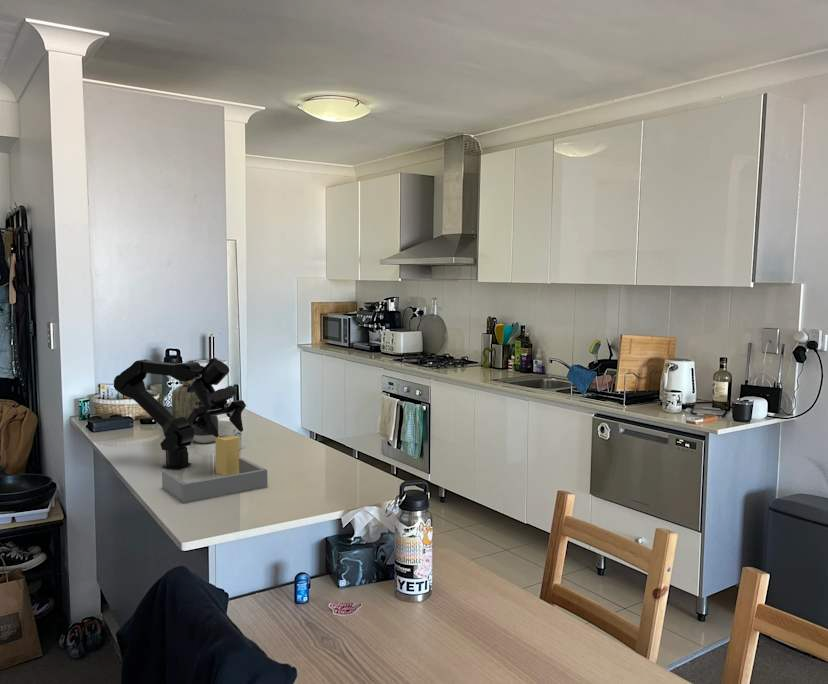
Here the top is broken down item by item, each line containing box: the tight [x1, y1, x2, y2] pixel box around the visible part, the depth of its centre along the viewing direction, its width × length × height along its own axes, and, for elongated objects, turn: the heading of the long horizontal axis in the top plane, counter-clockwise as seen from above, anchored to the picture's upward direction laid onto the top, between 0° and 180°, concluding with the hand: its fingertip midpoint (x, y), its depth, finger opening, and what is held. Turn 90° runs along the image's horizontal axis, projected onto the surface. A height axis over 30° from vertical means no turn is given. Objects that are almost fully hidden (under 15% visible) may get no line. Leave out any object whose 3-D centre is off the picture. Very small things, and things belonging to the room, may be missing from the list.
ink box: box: [218, 416, 242, 450], centre depth 245 cm, size 9×5×12 cm, turn 168°
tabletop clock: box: [171, 380, 200, 421], centre depth 279 cm, size 14×9×25 cm, turn 179°
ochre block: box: [214, 435, 240, 476], centre depth 214 cm, size 5×5×12 cm
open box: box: [161, 457, 268, 504], centre depth 199 cm, size 17×24×6 cm
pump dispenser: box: [192, 405, 219, 444], centre depth 258 cm, size 10×10×15 cm
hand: (230, 433), depth 212 cm, fingers open, 9 cm apart
